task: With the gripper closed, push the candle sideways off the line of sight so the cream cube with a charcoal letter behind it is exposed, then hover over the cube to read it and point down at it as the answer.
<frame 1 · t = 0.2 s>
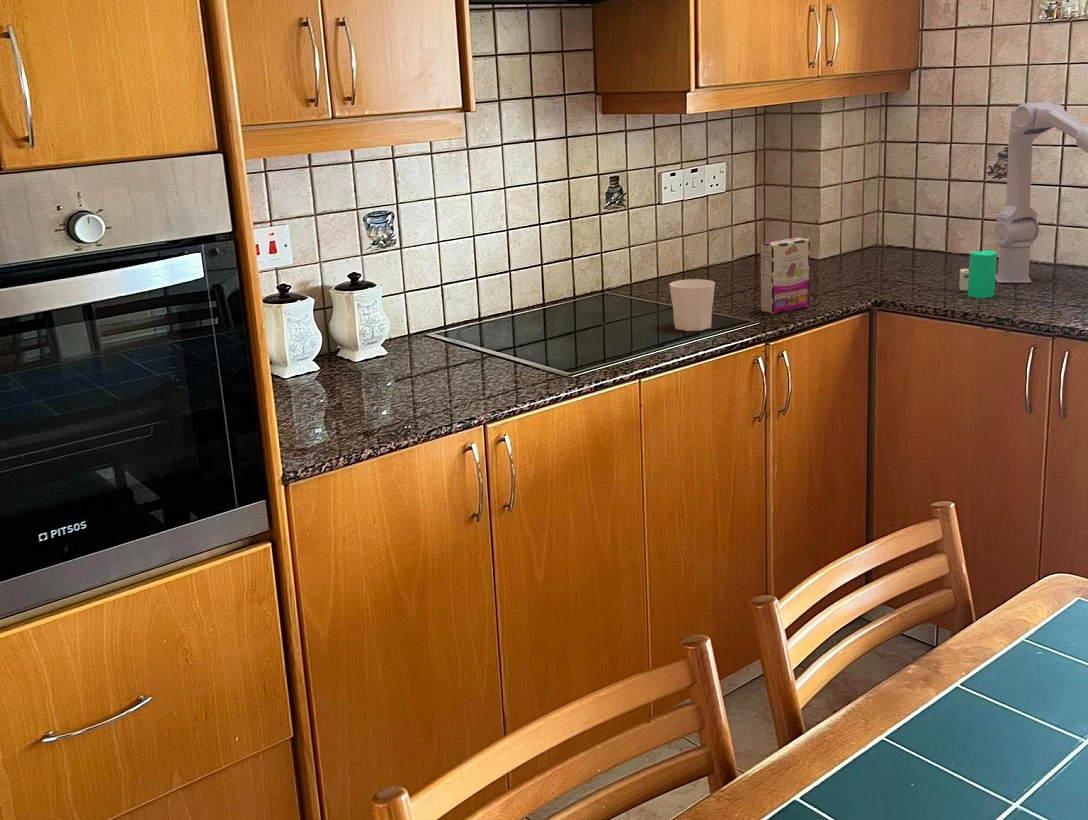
candy bar box: (784, 310, 275), on the kitchen counter
candle: (980, 296, 280), on the kitchen counter
cup: (692, 327, 263), on the kitchen counter
letter cube: (969, 288, 288), on the kitchen counter
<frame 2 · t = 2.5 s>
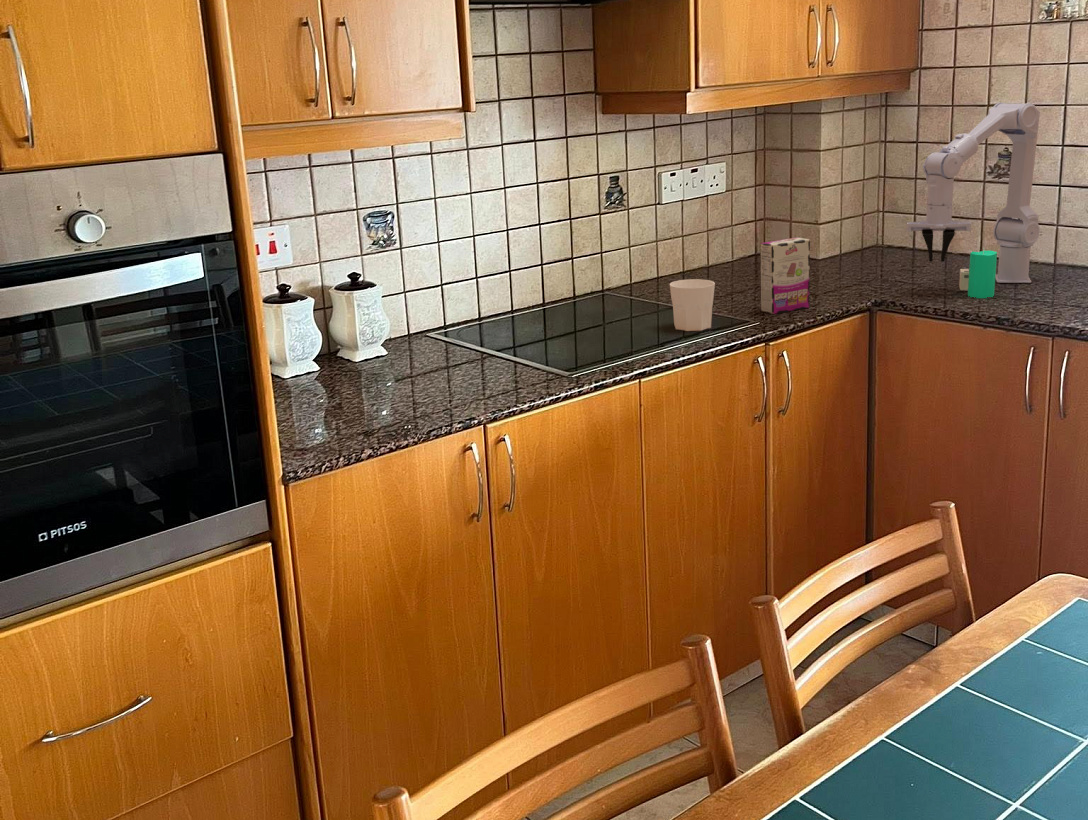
hand: (936, 260, 280), 8 cm above the kitchen counter, tool pointing down, fingers closed
nothing on the kitchen counter moved.
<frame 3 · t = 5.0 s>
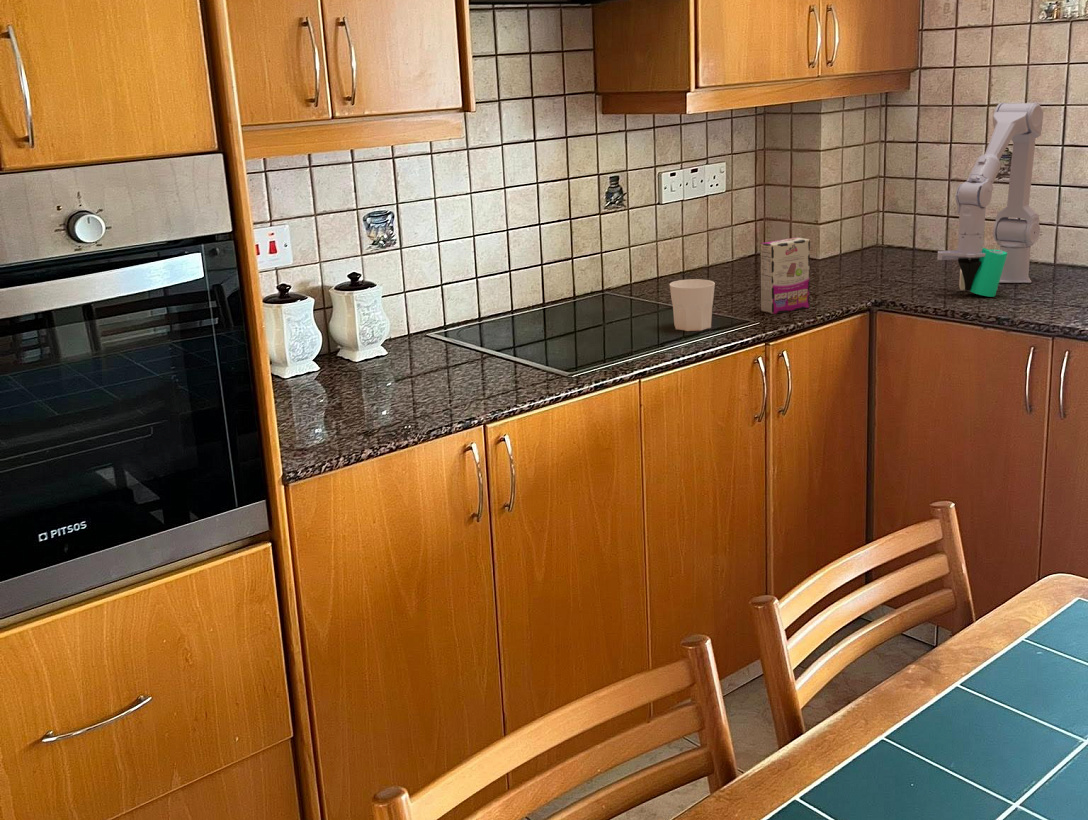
hand: (967, 289, 280), 1 cm above the kitchen counter, tool pointing down, fingers closed
candle: (981, 294, 279), on the kitchen counter, touching gripper
everything else where it was.
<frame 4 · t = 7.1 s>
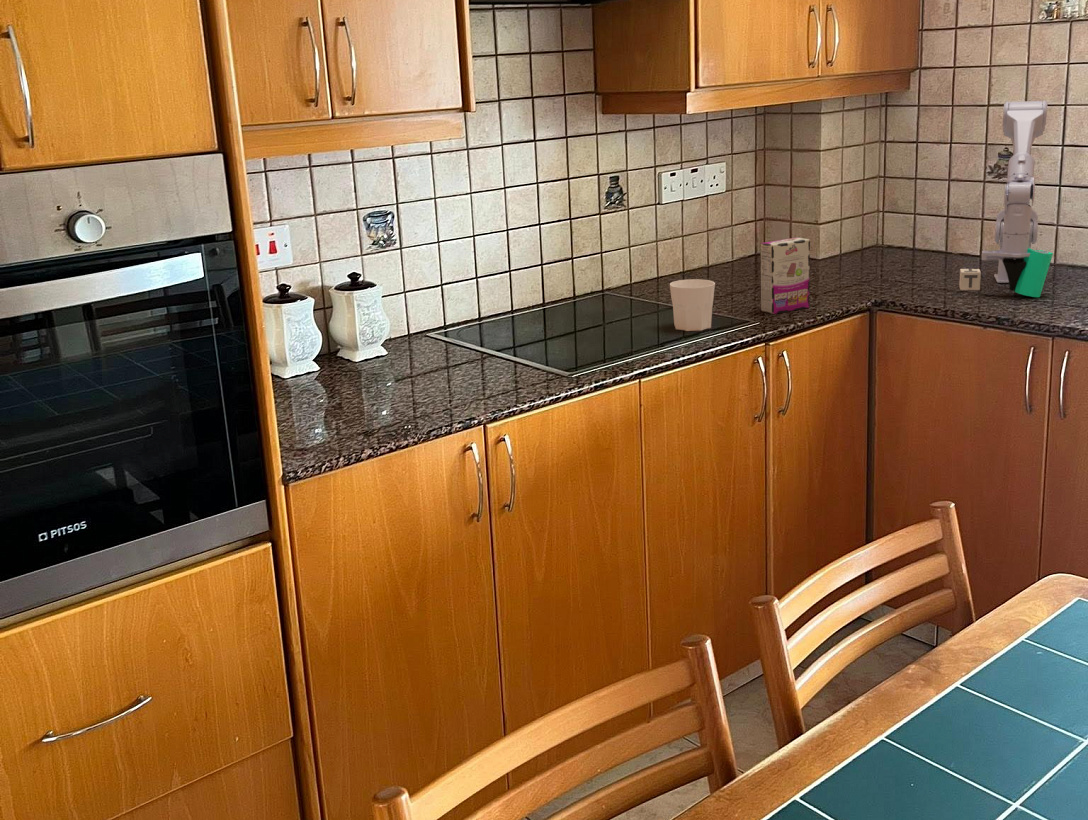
hand: (1012, 290, 277), 1 cm above the kitchen counter, tool pointing down, fingers closed
candle: (1026, 294, 276), on the kitchen counter, touching gripper
everything else where it was.
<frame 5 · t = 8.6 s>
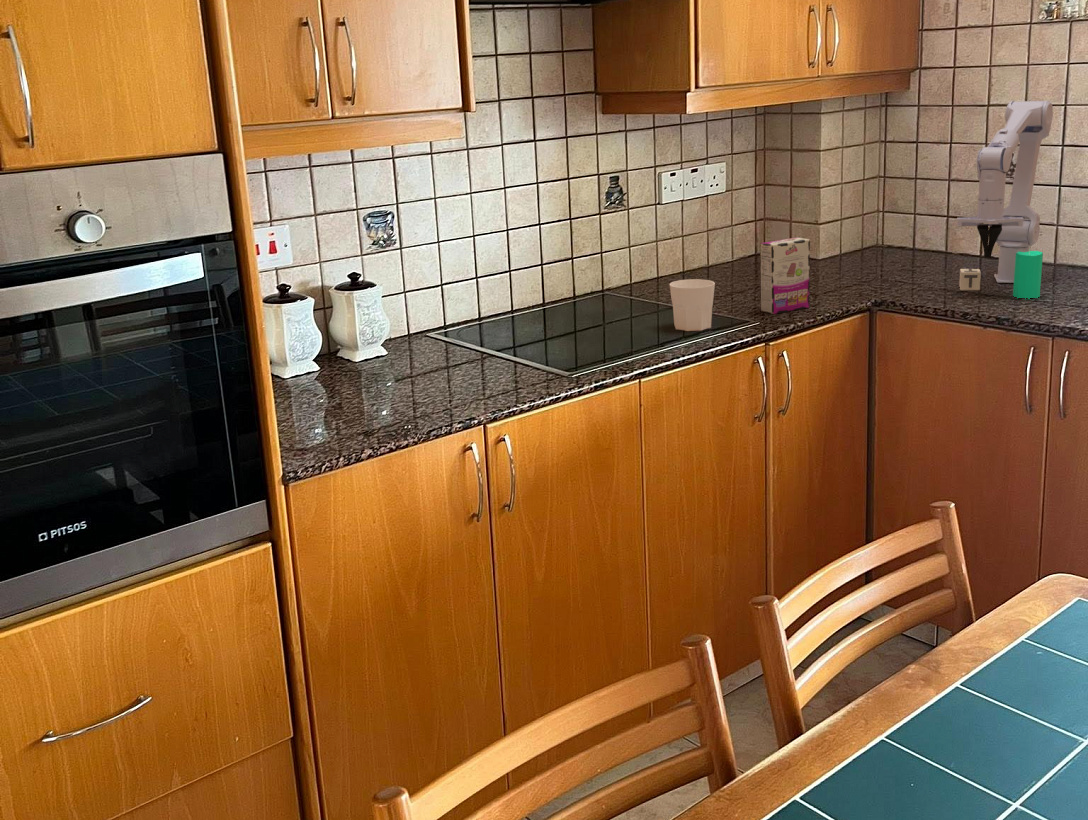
hand: (987, 256, 277), 9 cm above the kitchen counter, tool pointing down, fingers closed
candle: (1026, 297, 276), on the kitchen counter
everything else where it was.
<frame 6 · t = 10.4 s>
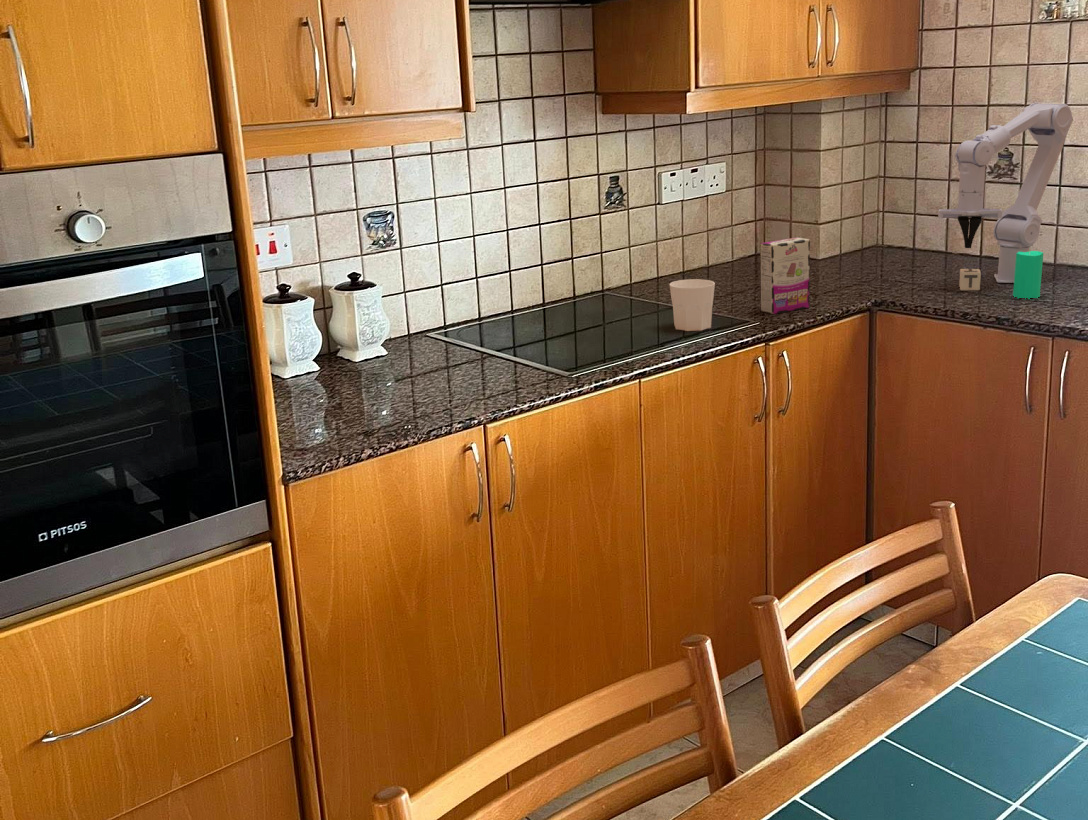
hand: (967, 247, 285), 10 cm above the kitchen counter, tool pointing down, fingers closed
nothing on the kitchen counter moved.
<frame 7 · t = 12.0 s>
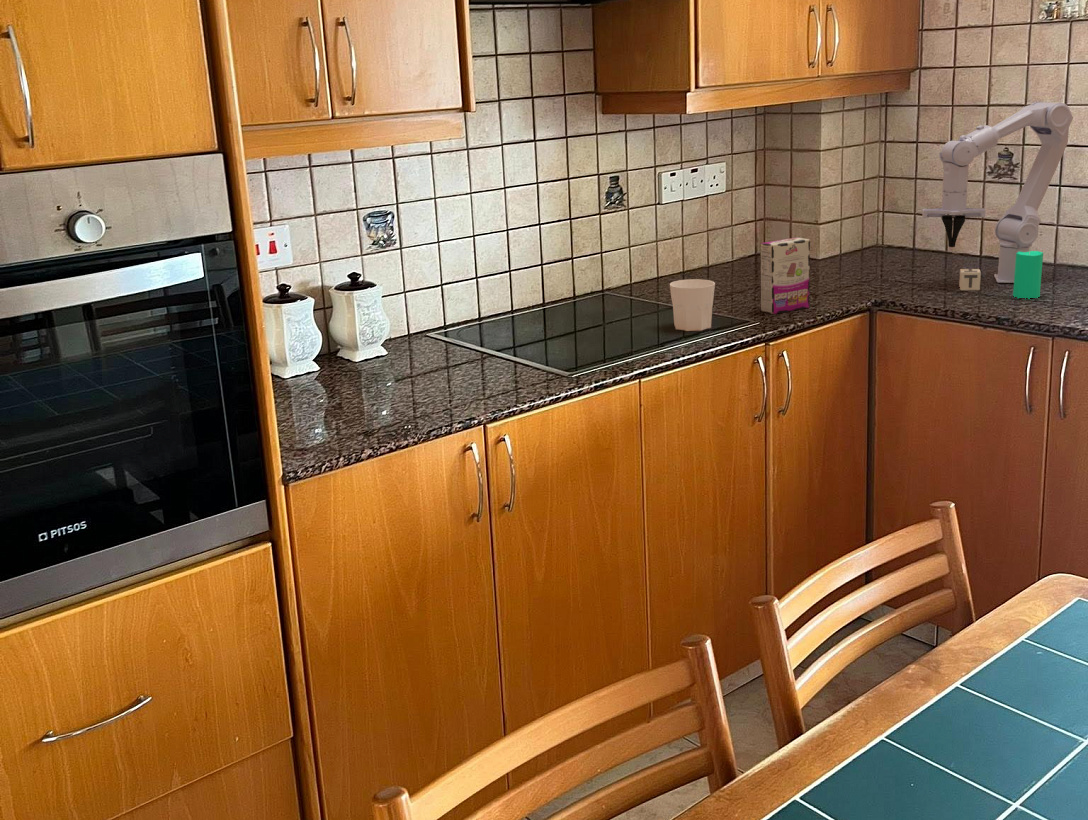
hand: (951, 246, 288), 10 cm above the kitchen counter, tool pointing down, fingers closed
nothing on the kitchen counter moved.
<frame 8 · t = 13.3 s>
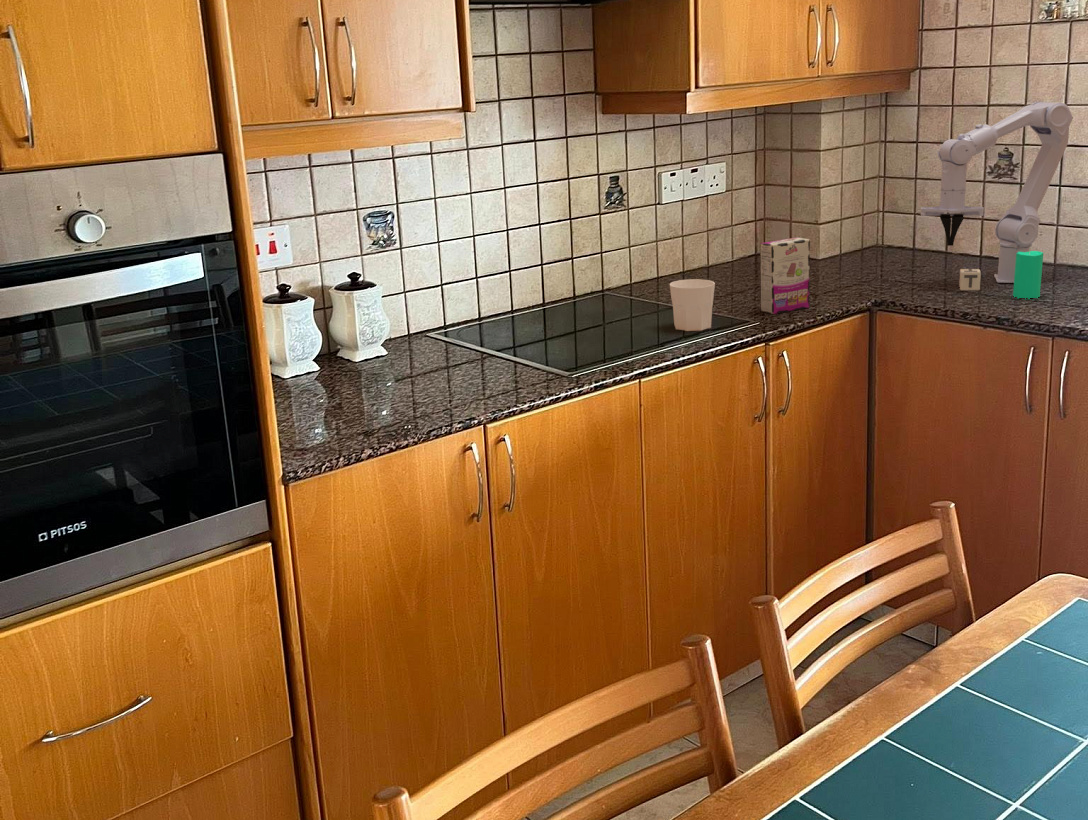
hand: (950, 245, 289), 10 cm above the kitchen counter, tool pointing down, fingers closed
nothing on the kitchen counter moved.
at the end: candle inside the target area (0.6 cm from its centre), on the kitchen counter; candle tilted 0°; letter cube moved 0.1 cm from its start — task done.
